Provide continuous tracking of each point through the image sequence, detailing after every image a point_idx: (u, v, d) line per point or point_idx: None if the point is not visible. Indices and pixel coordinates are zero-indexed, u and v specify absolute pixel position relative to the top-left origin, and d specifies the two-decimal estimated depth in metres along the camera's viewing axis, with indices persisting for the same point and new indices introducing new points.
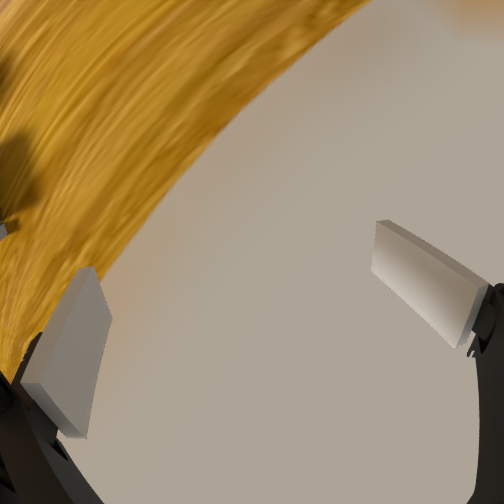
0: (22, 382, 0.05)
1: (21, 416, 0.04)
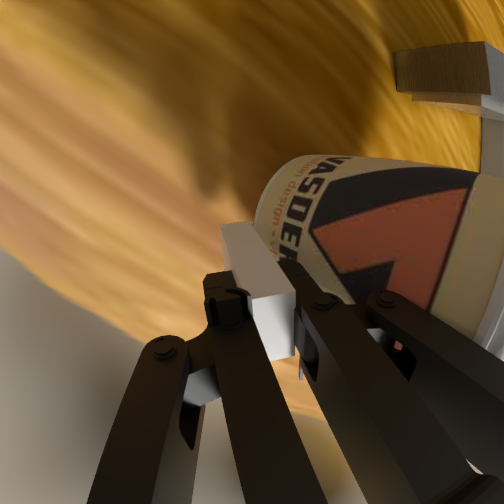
0: None
1: (255, 339, 0.07)
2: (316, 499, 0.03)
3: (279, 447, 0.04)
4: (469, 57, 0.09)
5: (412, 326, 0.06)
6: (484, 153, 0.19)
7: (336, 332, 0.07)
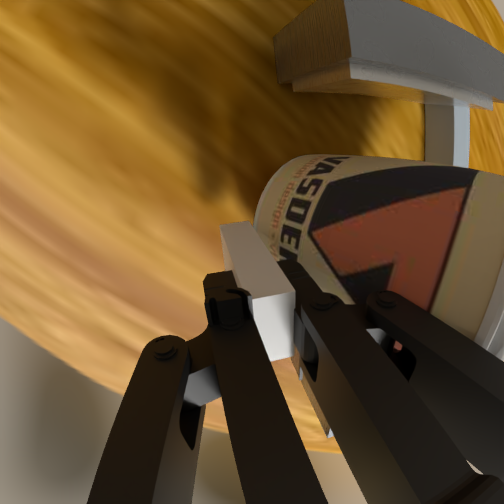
0: None
1: (255, 339, 0.07)
2: (316, 499, 0.03)
3: (279, 447, 0.04)
4: (327, 13, 0.07)
5: (412, 326, 0.06)
6: (428, 149, 0.18)
7: (335, 332, 0.07)
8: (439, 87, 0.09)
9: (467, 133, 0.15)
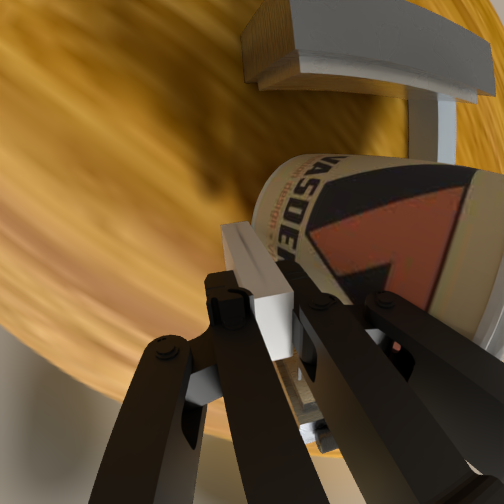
0: None
1: (257, 339, 0.07)
2: (318, 499, 0.03)
3: (281, 447, 0.04)
4: (276, 6, 0.07)
5: (411, 326, 0.06)
6: (412, 147, 0.17)
7: (334, 333, 0.07)
8: (410, 78, 0.09)
9: (453, 130, 0.14)
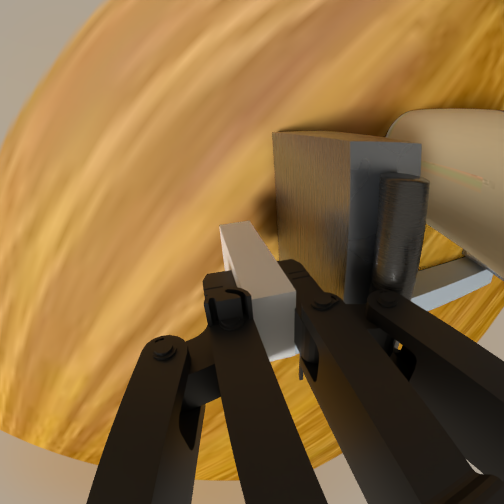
0: None
1: (255, 340, 0.07)
2: (316, 499, 0.03)
3: (279, 447, 0.04)
4: None
5: (412, 326, 0.06)
6: (439, 267, 0.22)
7: (336, 332, 0.07)
8: None
9: (463, 293, 0.21)
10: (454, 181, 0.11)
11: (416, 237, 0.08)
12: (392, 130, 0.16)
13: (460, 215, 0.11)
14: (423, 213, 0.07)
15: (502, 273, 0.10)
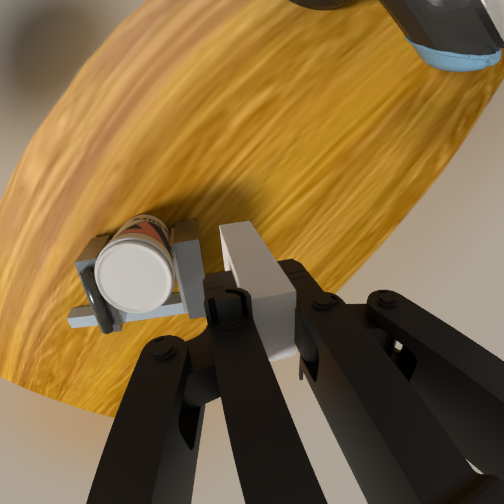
0: None
1: (254, 340, 0.07)
2: (316, 499, 0.03)
3: (279, 447, 0.04)
4: (190, 236, 0.34)
5: (412, 326, 0.06)
6: None
7: (336, 332, 0.07)
8: (179, 279, 0.36)
9: (176, 313, 0.43)
10: None
11: (88, 285, 0.30)
12: None
13: None
14: (87, 280, 0.30)
15: None
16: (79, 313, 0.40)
